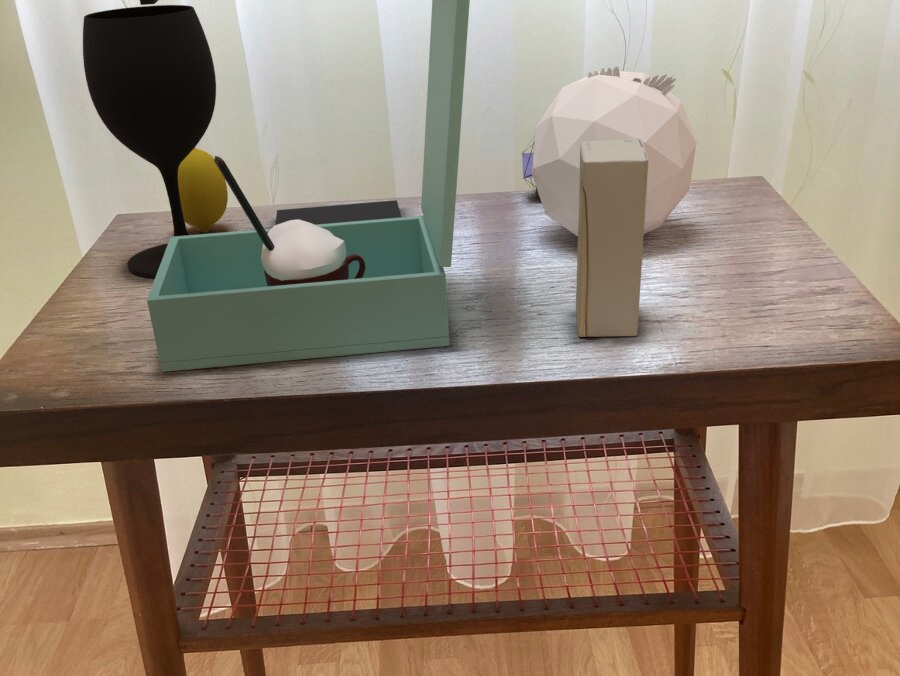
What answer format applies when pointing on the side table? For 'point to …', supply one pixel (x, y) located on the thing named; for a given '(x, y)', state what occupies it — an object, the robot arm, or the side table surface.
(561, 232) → the side table surface
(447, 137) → the lid
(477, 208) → the side table surface
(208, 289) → the teal open box
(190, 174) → the lemon
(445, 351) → the side table surface
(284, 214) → the mat
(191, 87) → the wine glass
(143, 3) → the robot arm
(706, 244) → the side table surface
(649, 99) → the geodesic sphere
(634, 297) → the cosmetic box
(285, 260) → the cocoa
